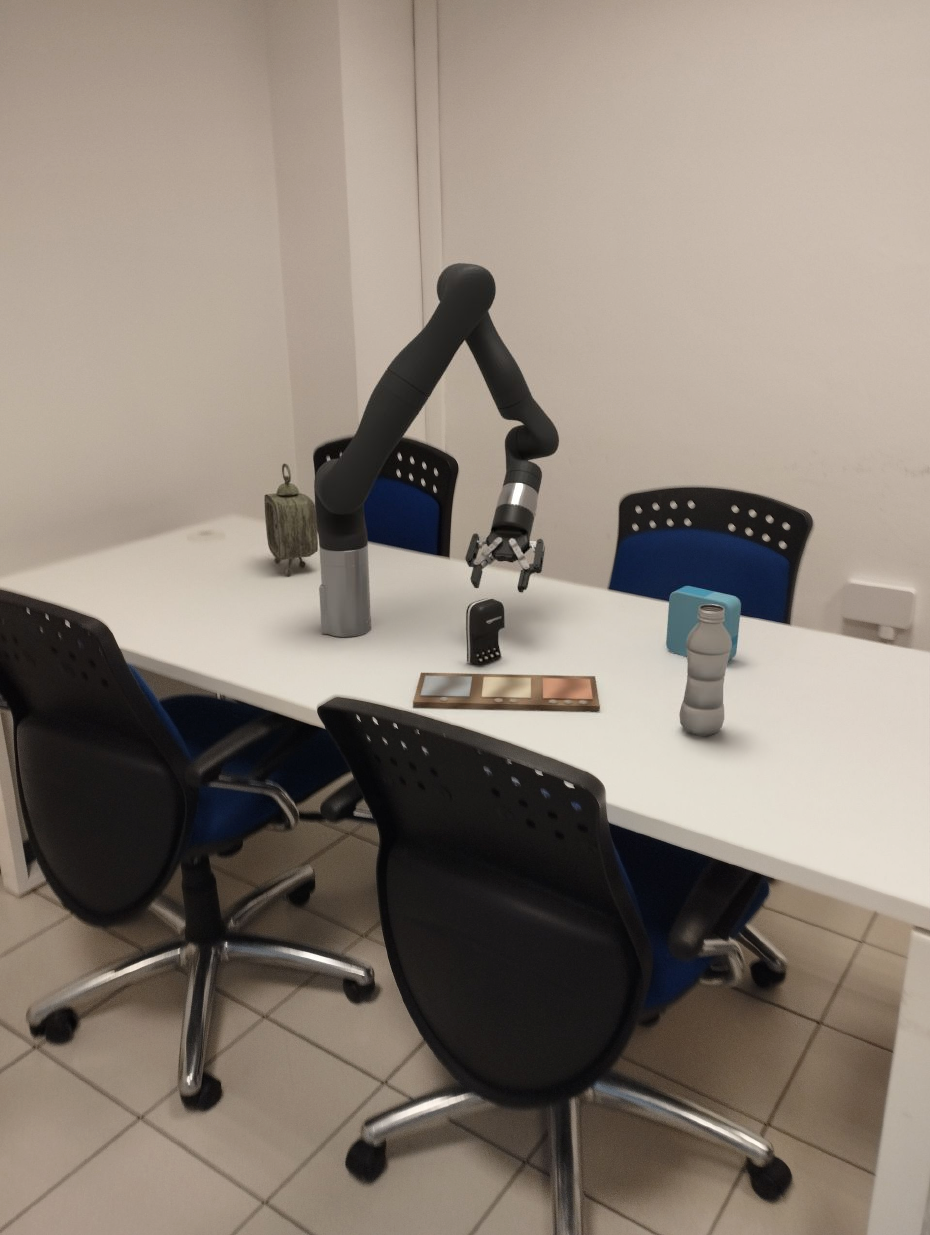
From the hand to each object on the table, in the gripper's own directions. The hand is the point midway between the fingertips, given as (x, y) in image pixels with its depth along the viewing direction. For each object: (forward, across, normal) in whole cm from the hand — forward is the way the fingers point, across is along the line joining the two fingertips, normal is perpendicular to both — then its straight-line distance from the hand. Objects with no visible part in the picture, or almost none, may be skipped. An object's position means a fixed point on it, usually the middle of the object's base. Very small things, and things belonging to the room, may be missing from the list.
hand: (497, 588), depth 176 cm
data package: (+3, +36, +14) cm, 39 cm away
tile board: (+22, +7, -5) cm, 24 cm away
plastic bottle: (+25, +39, -8) cm, 47 cm away
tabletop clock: (-16, -60, +33) cm, 71 cm away
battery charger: (+13, 0, +4) cm, 14 cm away
